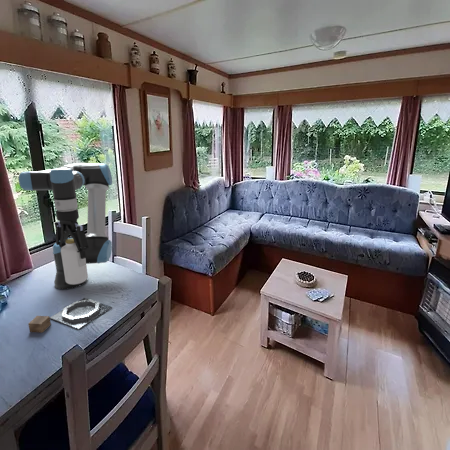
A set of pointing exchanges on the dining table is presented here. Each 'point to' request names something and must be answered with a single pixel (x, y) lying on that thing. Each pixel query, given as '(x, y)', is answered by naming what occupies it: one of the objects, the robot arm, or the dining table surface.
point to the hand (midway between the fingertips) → (74, 263)
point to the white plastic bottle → (72, 264)
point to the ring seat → (80, 313)
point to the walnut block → (39, 324)
